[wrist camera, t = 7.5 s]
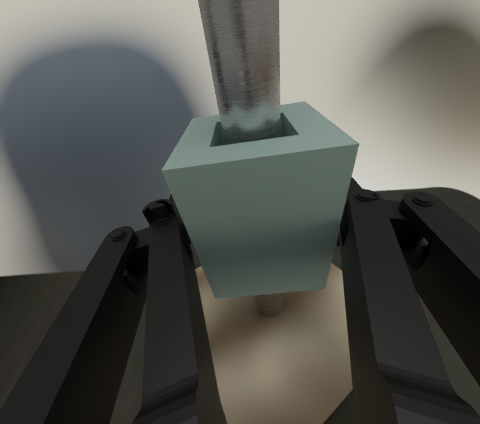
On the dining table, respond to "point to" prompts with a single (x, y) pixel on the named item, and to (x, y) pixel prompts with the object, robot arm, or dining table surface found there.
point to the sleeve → (263, 201)
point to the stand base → (280, 354)
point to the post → (246, 79)
